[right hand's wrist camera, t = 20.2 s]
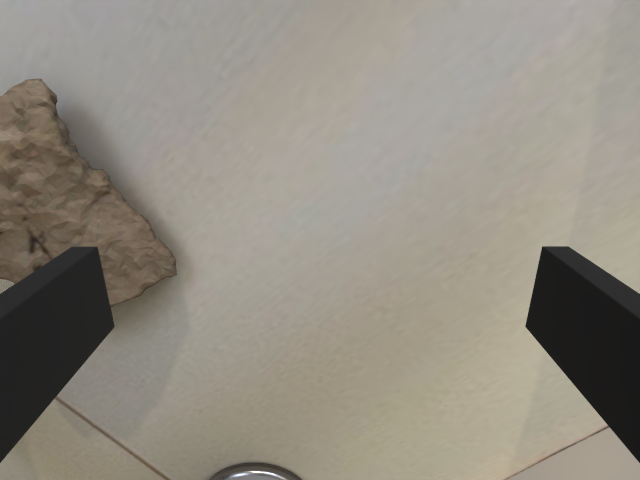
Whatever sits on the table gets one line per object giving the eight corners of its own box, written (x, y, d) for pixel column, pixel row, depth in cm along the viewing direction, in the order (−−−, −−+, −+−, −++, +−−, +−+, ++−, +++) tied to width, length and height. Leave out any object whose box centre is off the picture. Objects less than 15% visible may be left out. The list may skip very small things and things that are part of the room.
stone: (-103, 157, 36) (-155, 174, 31) (46, 72, 36) (21, 73, 31) (72, 319, 46) (56, 353, 40) (187, 250, 46) (187, 274, 41)
